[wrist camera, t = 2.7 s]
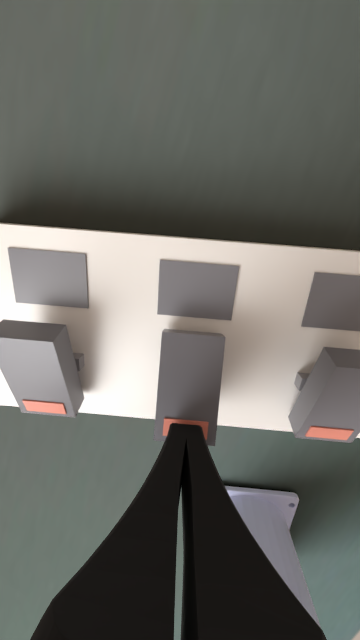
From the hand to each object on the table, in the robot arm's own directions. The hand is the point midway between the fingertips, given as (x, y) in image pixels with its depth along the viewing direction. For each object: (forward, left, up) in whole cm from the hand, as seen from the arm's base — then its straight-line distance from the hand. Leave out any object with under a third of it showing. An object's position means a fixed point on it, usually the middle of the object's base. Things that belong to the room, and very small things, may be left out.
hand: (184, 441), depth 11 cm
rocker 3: (+2, -7, -1) cm, 7 cm away
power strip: (+4, +2, -6) cm, 8 cm away
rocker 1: (+2, +7, -1) cm, 7 cm away
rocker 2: (+2, 0, -1) cm, 2 cm away
